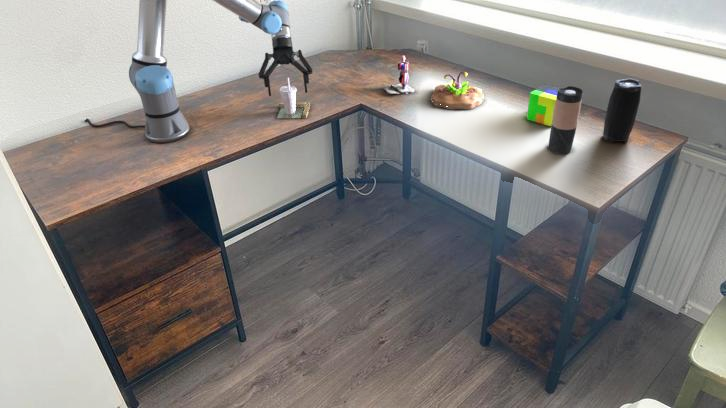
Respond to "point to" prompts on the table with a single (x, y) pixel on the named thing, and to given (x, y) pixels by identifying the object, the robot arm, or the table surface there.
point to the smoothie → (289, 98)
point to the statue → (401, 80)
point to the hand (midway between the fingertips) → (288, 93)
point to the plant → (457, 94)
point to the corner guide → (298, 112)
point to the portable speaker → (622, 110)
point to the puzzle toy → (542, 104)
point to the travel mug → (565, 119)
